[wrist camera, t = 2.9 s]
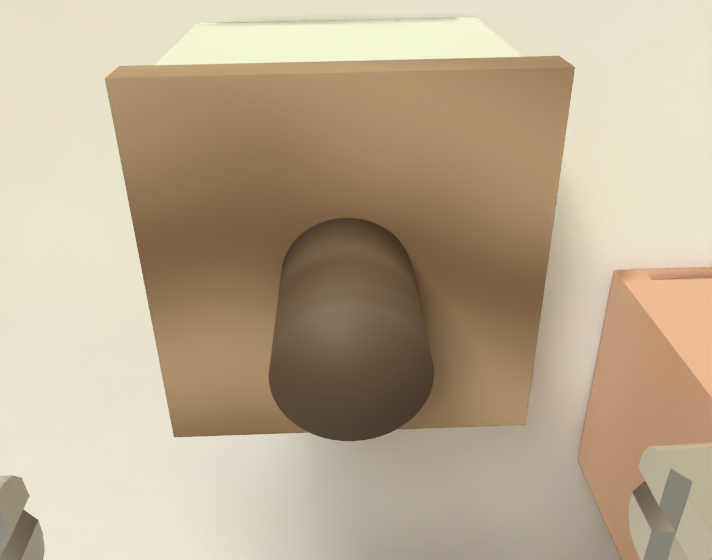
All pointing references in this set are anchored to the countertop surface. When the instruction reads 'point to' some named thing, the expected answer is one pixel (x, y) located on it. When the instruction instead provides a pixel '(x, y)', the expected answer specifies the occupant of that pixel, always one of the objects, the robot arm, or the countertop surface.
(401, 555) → the countertop surface
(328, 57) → the tub
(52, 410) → the countertop surface
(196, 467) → the countertop surface
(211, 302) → the lid
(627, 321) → the planter
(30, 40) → the countertop surface
